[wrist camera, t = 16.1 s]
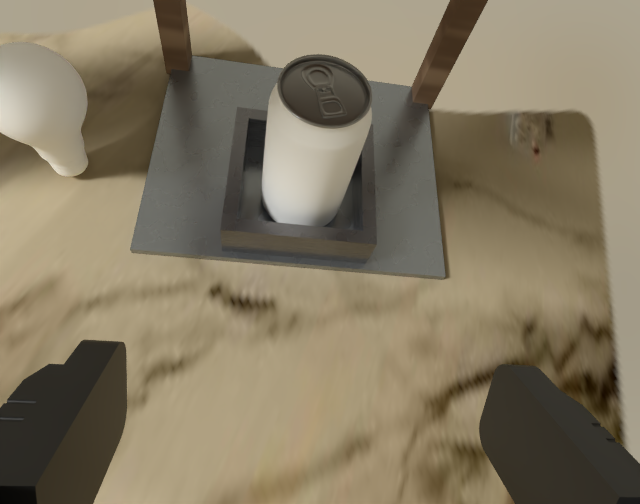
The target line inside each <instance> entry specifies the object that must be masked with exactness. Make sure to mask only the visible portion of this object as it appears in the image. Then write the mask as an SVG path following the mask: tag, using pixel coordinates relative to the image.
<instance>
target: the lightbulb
mask: <svg viewBox="0 0 640 504" xmlns="http://www.w3.org/2000/svg"><path fill="white" fill-rule="evenodd" d="M87 106H88V101H87V92H86V88H85V85H84V83H83V81H82V78H81V76H80V75H79V74H78V72H77V71H76V70H75V68H74V67H73V66H72V65H71V64H70V63H69V62H68V61H67V60H66V59H65V58H64V57H62V56H61V55H60V54H58V53H56V52H54V51H53V50H51V49H49V48H47V47H44V46H41V45H38V44H34V43H29V42H12V43H7V44H3V45H1V46H0V132H1V133H2V134H4V135H6V136H8V137H10V138H12V139H14V140H16V141H19V142H21V143H24V144H27V145H30V146H31V147H33V148H34V149H35V150H36V151H37V152H38V154H39V155H40V156H41V157H42V158H43V159H44V160H46V161H48V162H49V164H50V165H51V166H52V168H53V169H54V170H55V171H56V172H57V173H58V174H60V175H62V176H66V177H72V176H77V175H79V174H81V173H82V172H83V171H84V170H85V169H86V168H87V166H88V158H87V155H86V152H85V150H84V140H83V137H82V134H81V126H82V124H83V121H84V119H85V115H86V112H87Z"/></svg>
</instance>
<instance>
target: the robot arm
mask: <svg viewBox="0 0 640 504" xmlns="http://www.w3.org/2000/svg"><path fill="white" fill-rule="evenodd" d="M126 412H127V373H126V347H125V344H124V342H115V341H97V340H83V341H81V342H80V344H79V345H78V346H77V348H76V349H75V350H74V352H73V353H72V354H71V356H70V357H69V358H68V360H67V361H66V362H65V364H64V365H62V364H48V365H47V366H45V367H44V368H42V369H40V370H39V371H37V372H36V373H34V374H32V375H31V376H29V377H28V378H26V379H24V380H23V381H22V383H21V384H20V385H19V386H18V387H17V389H16V390H15V391H14V392H13V393H12V395H11V396H10V397H9V398H8V399H7V403H6V404H5V403H4V404H3V405H2V406H1V408H0V504H93V502H94V500H95V498H96V495H97V493H98V491H99V488H100V486H101V484H102V481H103V479H104V477H105V474H106V472H107V470H108V467H109V465H110V463H111V460H112V458H113V456H114V453H115V451H116V448H117V446H118V444H119V441H120V439H121V436H122V433H123V429H124V425H125V420H126ZM479 432H480V440H481V444H482V447H483V449H484V451H485V453H486V455H487V456H488V458H489V460H490V461H491V463H492V465H493V467H494V468H495V470H496V472H497V473H498V475H499V477H500V479H501V480H502V482H503V484H504V485H505V487H506V489H507V491H508V492H509V494H510V496H511V497H512V499H513V501H514V503H515V504H640V464H639V463H638V462H637V461H636V460H635V459H634V458H633V456H632V455H631V454H630V453H629V452H628V451H627V450H626V449H625V448H624V447H623V446H622V445H621V444H620V443H616V442H615V438H614V437H613V436H612V435H611V434H610V433H609V432H608V431H607V430H606V429H605V428H604V427H601V426H600V423H599V422H598V421H597V420H596V419H595V418H594V416H593V415H592V414H591V413H590V412H589V411H588V410H587V409H586V408H585V407H584V406H583V405H581V404H580V403H578V402H577V401H575V400H574V399H572V398H571V397H569V396H568V395H566V394H565V393H563V392H562V391H560V390H559V389H558V388H557V387H556V386H555V385H554V384H553V383H552V382H551V380H550V379H549V378H548V377H547V376H546V375H545V374H544V373H543V372H542V371H541V370H540V369H539V368H537V367H536V366H526V365H508V364H502V365H499V366H498V367H497V369H496V370H495V372H494V375H493V379H492V382H491V386H490V389H489V392H488V396H487V399H486V402H485V406H484V409H483V413H482V416H481V420H480V426H479Z"/></svg>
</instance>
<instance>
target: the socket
mask: <svg viewBox="0 0 640 504" xmlns="http://www.w3.org/2000/svg"><path fill="white" fill-rule="evenodd" d="M282 70H283V68H276V67H269V66H262V65H255V64H248V63H241V62H234V61H227V60H220V59H213V58H206V57H199V56H192V58H191V63H190V68H189V71H182V70H175V69H171V74H170V78H169V82H168V87H167V91H166V95H165V100H164V104H163V108H162V113H161V117H160V122H159V126H158V130H157V135H156V139H155V143H154V148H153V152H152V156H151V161H150V165H149V169H148V174H147V178H146V182H145V187H144V191H143V196H142V200H141V204H140V209H139V213H138V217H137V222H136V226H135V230H134V235H133V239H132V243H131V248H130V250H131V252H132V253H141V254H152V255H164V256H176V257H187V258H199V259H210V260H222V261H233V262H245V263H256V264H268V265H279V266H291V267H303V268H314V269H326V270H337V271H349V272H360V273H372V274H383V275H395V276H406V277H418V278H430V279H441V280H443V279H444V278H445V267H444V257H443V247H442V237H441V227H440V218H439V208H438V198H437V188H436V178H435V169H434V159H433V149H432V139H431V129H430V120H429V110H428V104H422V103H415V102H413V96H412V87H410V86H403V85H396V84H389V83H382V82H374V81H368V82H369V84H370V87H371V90H372V104H371V109H372V121H371V126H370V129H369V132H368V135H367V138H366V140H365V143H364V146H363V148H362V151H361V154H360V156H359V159H358V162H357V164H356V167H355V169H354V172H353V175H352V177H351V180H350V182H349V185H348V188H347V190H346V193H345V195H344V198H343V200H342V203H341V205H340V208H339V210H338V212H337V214H336V216H335V217H334V218H333V219H332V220H331V221H330V222H329V223H328V224H327V225H325V226H323V227H318V226H308V225H298V224H288V223H278V222H276V221H275V220H273V219H272V218H271V217H270V215H269V214H268V213H267V211H266V210H265V208H264V206H263V203H262V197H261V187H262V173H263V160H264V148H265V136H266V124H267V114H268V105H269V99H270V95H271V92H272V90H273V88H274V87H275V85H276V84H277V82H278V78H279V75H280V73H281V71H282Z"/></svg>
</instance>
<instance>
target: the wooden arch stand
mask: <svg viewBox="0 0 640 504" xmlns="http://www.w3.org/2000/svg"><path fill="white" fill-rule="evenodd" d="M153 1H154V7H155V12H156V18H157V23H158V29H159V34H160V39H161V45H162V50H163V56H164V61H165V66H166V72H167V74H171V69H175V70H182V71H189V68H190V63H191V58H192V51H191V43H190V34H189V25H188V17H187V8H186V0H153ZM487 1H488V0H450V2H449V4H448V6H447V9H446V11H445V13H444V15H443V18H442V20H441V22H440V25H439V27H438V29H437V31H436V33H435V36H434V38H433V40H432V42H431V45H430V47H429V49H428V51H427V54H426V56H425V58H424V60H423V63H422V65H421V67H420V69H419V72H418V74H417V76H416V78H415V80H414V83H413V86H412V96H413V102H415V103H422V104H428V109H431V108H432V106H433V104H434V102H435V100H436V98H437V96H438V94H439V92H440V91H441V88H442V87H443V85H444V83H445V81H446V79H447V77H448V75H449V73H450V72H451V70H452V68H453V66H454V64H455V62H456V60H457V58H458V56H459V54H460V53H461V50H462V49H463V47H464V45H465V43H466V41H467V39H468V37H469V35H470V33H471V32H472V30H473V28H474V26H475V24H476V22H477V20H478V18H479V16H480V14H481V13H482V11H483V9H484V7H485V5H486V3H487Z"/></svg>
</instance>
